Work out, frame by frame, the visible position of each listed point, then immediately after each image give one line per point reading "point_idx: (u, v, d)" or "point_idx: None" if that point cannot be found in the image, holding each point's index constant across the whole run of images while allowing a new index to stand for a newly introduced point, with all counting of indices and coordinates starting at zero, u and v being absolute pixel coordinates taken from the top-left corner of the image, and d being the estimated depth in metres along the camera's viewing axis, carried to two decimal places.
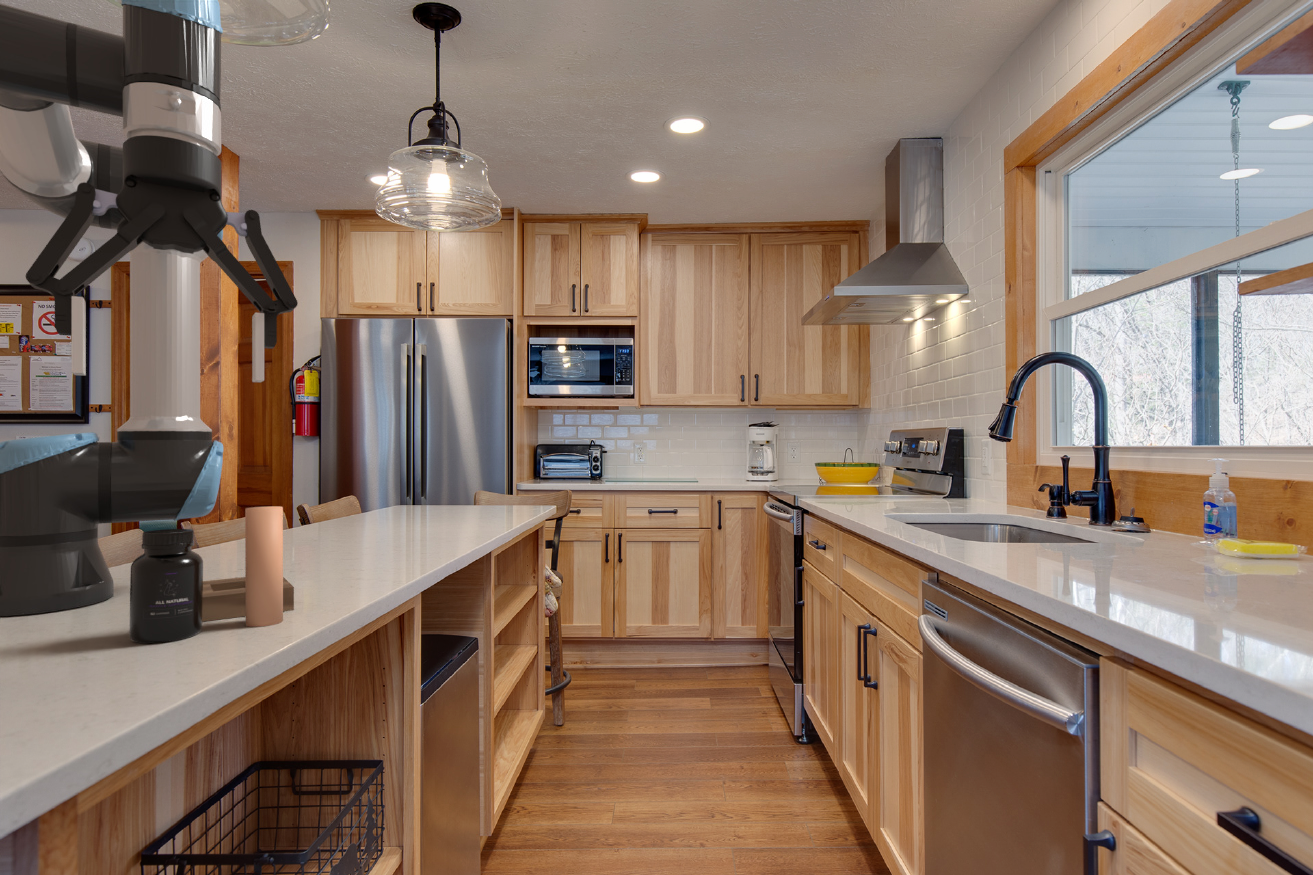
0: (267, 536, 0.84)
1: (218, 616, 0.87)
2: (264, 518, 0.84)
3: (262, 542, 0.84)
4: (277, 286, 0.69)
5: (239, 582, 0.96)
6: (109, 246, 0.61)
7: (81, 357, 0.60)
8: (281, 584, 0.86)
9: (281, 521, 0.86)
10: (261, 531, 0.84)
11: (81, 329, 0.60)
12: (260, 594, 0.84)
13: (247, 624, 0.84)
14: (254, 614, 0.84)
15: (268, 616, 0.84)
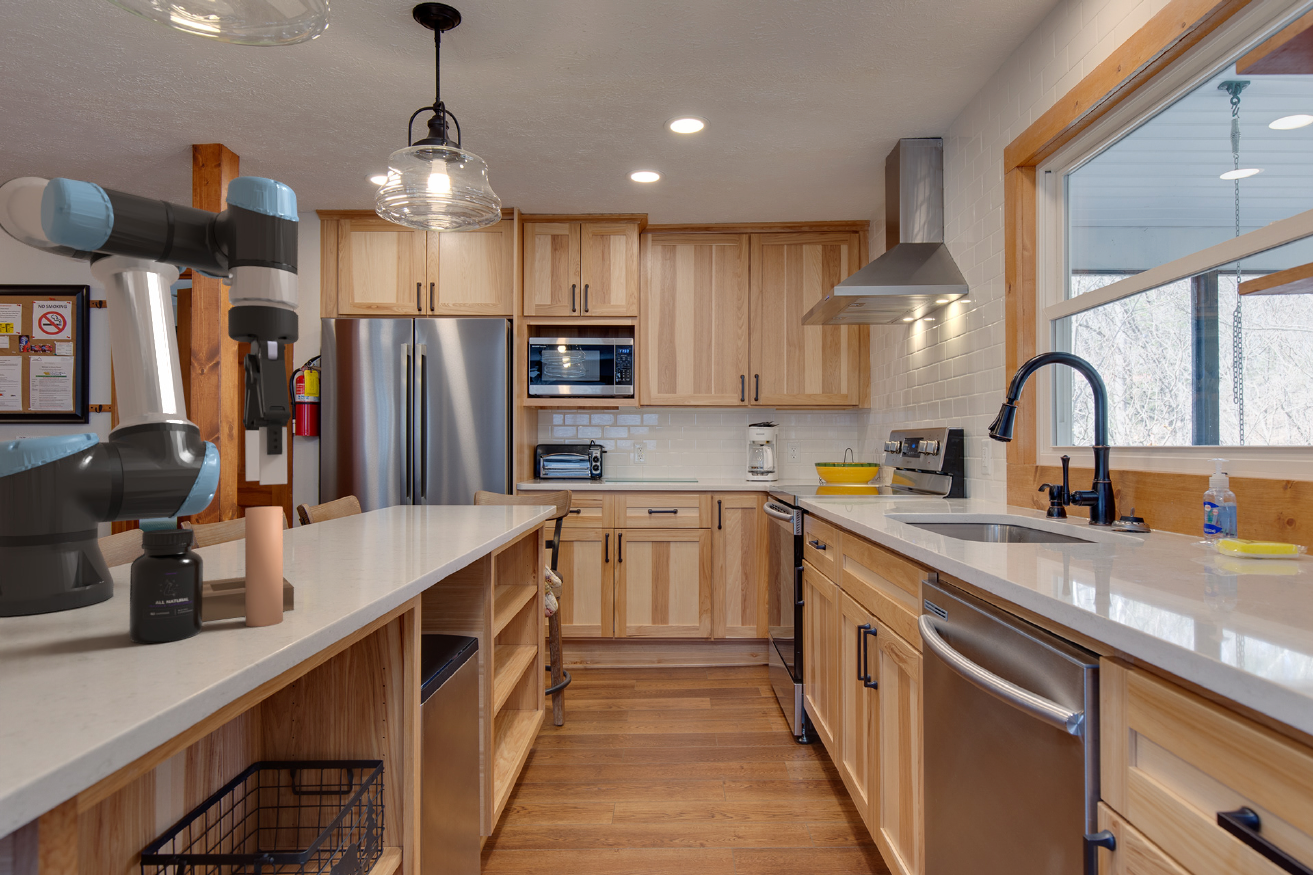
0: (267, 536, 0.84)
1: (218, 616, 0.87)
2: (264, 518, 0.84)
3: (262, 542, 0.84)
4: (262, 401, 0.78)
5: (239, 582, 0.96)
6: (248, 393, 0.89)
7: (246, 470, 0.90)
8: (281, 584, 0.86)
9: (281, 521, 0.86)
10: (261, 531, 0.84)
11: (246, 452, 0.90)
12: (260, 594, 0.84)
13: (247, 624, 0.84)
14: (254, 614, 0.84)
15: (268, 616, 0.84)
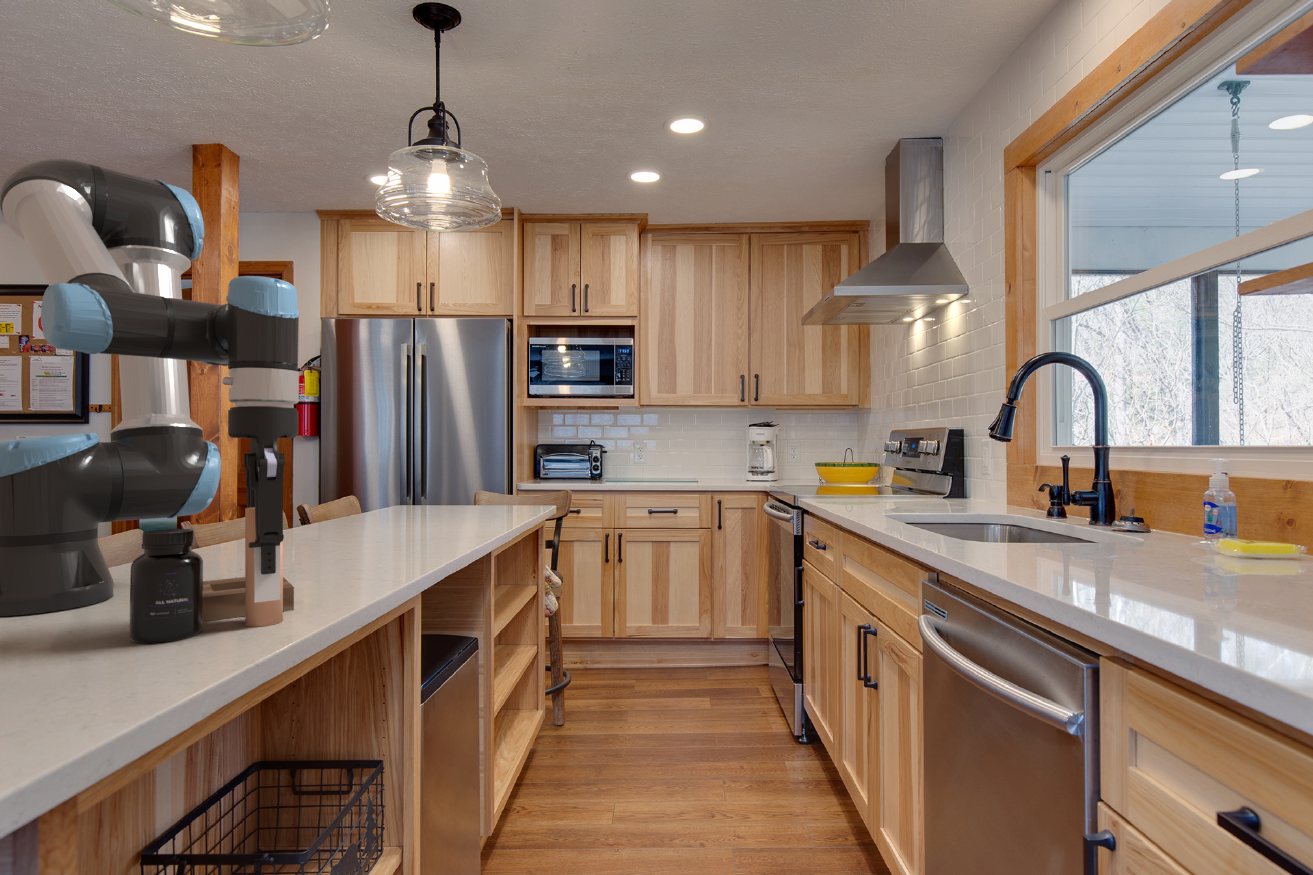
0: None
1: (218, 616, 0.87)
2: None
3: None
4: (257, 522, 0.81)
5: (239, 582, 0.96)
6: (250, 496, 0.87)
7: None
8: (281, 584, 0.86)
9: None
10: None
11: None
12: None
13: (247, 624, 0.84)
14: (253, 614, 0.84)
15: (268, 616, 0.84)
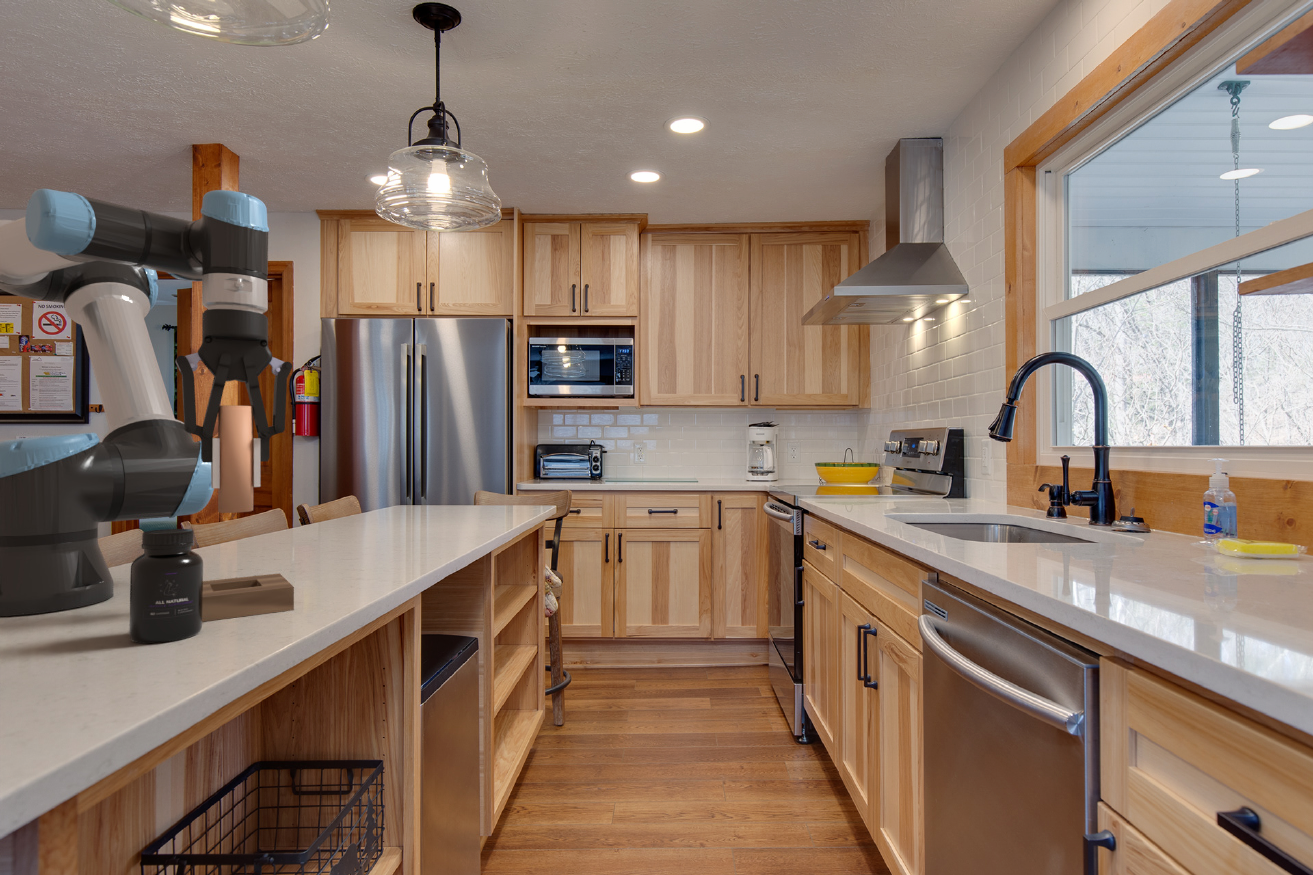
0: None
1: (218, 616, 0.87)
2: None
3: None
4: (277, 414, 0.95)
5: (239, 582, 0.96)
6: (214, 394, 0.91)
7: (218, 478, 0.91)
8: None
9: None
10: (252, 426, 0.94)
11: (218, 459, 0.91)
12: (252, 482, 0.94)
13: (243, 510, 0.92)
14: (250, 500, 0.93)
15: None
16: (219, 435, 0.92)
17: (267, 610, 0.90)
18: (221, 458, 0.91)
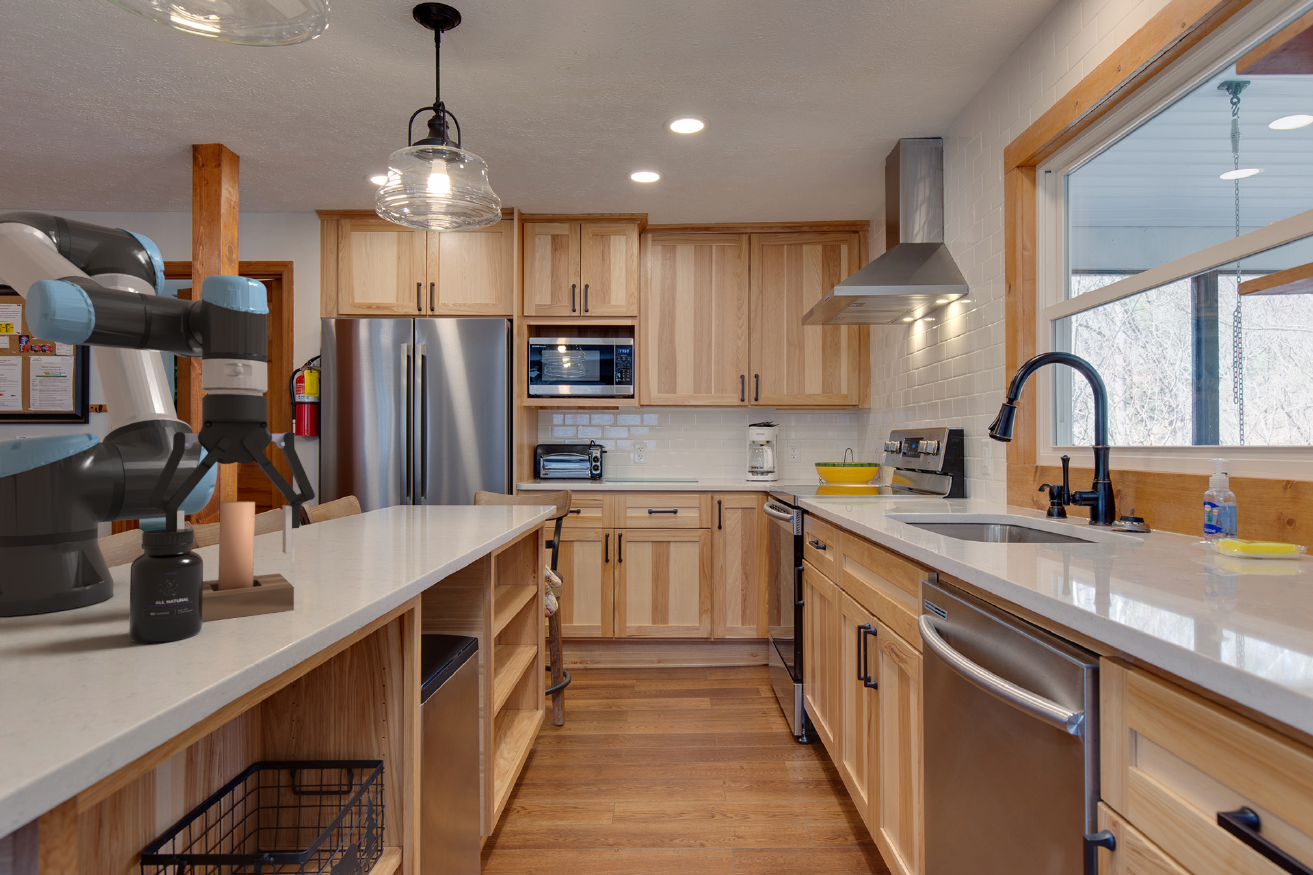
0: (254, 526, 0.95)
1: (218, 616, 0.87)
2: (254, 510, 0.95)
3: None
4: (301, 484, 0.97)
5: None
6: (197, 472, 0.90)
7: None
8: None
9: None
10: (254, 521, 0.94)
11: None
12: (252, 578, 0.94)
13: None
14: None
15: None
16: (220, 532, 0.92)
17: (267, 610, 0.90)
18: (222, 555, 0.92)
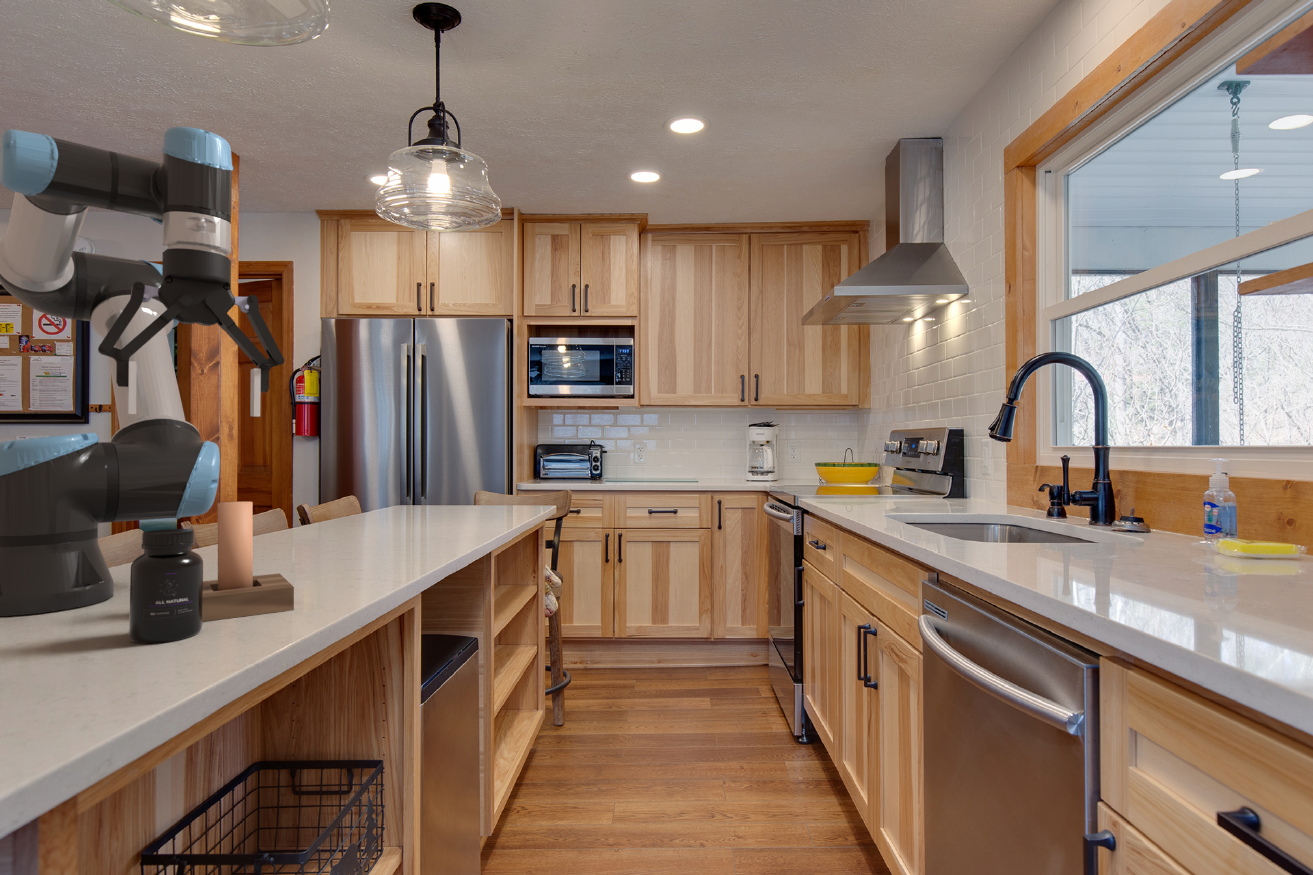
0: None
1: (218, 616, 0.87)
2: (252, 510, 0.94)
3: (252, 531, 0.94)
4: (270, 349, 0.96)
5: None
6: (154, 325, 0.88)
7: (135, 403, 0.87)
8: None
9: None
10: (252, 522, 0.94)
11: (135, 383, 0.87)
12: (252, 578, 0.94)
13: None
14: None
15: None
16: (218, 533, 0.92)
17: (267, 610, 0.90)
18: (221, 556, 0.91)
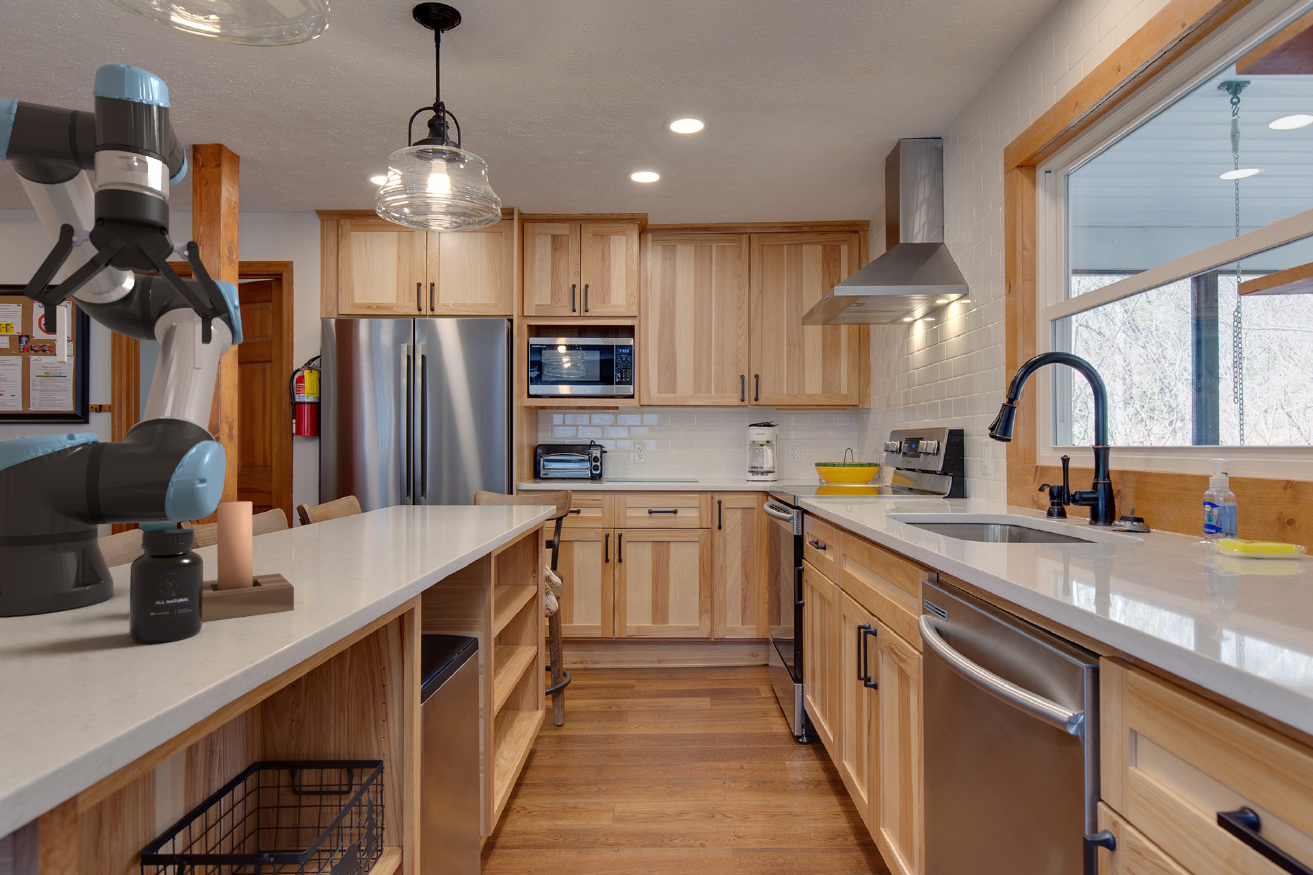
0: None
1: (218, 616, 0.87)
2: None
3: None
4: (212, 297, 0.92)
5: None
6: (84, 269, 0.84)
7: (63, 349, 0.83)
8: None
9: None
10: (251, 521, 0.94)
11: (63, 329, 0.83)
12: (252, 578, 0.94)
13: None
14: None
15: None
16: (218, 533, 0.92)
17: (267, 610, 0.90)
18: (221, 556, 0.91)
